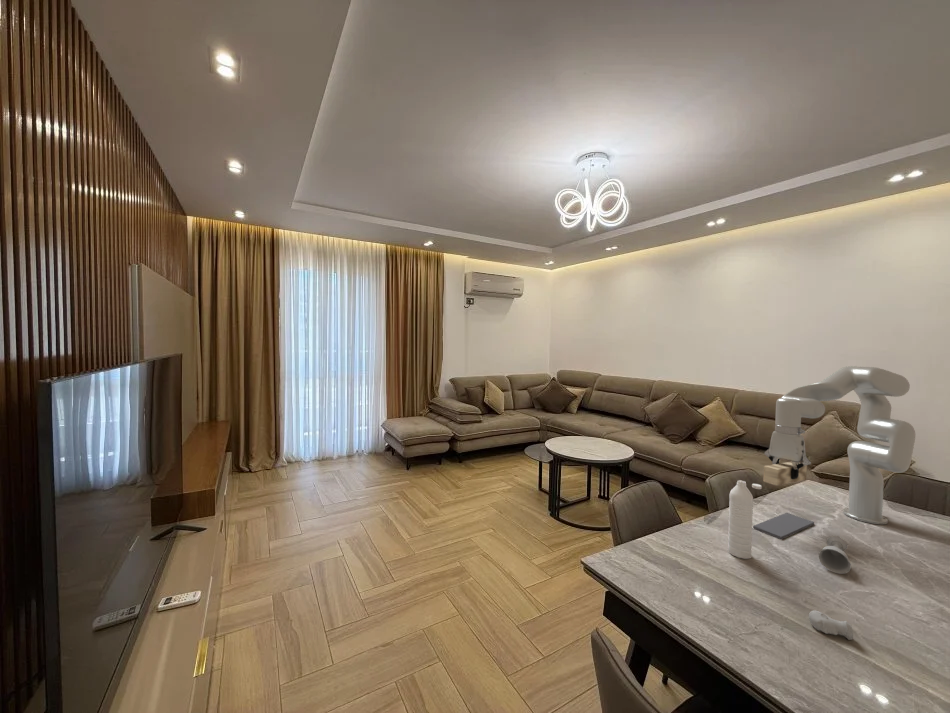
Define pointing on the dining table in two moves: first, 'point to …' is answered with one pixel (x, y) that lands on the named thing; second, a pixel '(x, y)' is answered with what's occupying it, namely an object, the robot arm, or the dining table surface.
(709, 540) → the dining table surface
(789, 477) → the grooved wooden block
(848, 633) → the smooth white sculpture
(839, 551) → the chalice
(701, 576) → the dining table surface
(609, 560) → the dining table surface
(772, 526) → the tool pad
